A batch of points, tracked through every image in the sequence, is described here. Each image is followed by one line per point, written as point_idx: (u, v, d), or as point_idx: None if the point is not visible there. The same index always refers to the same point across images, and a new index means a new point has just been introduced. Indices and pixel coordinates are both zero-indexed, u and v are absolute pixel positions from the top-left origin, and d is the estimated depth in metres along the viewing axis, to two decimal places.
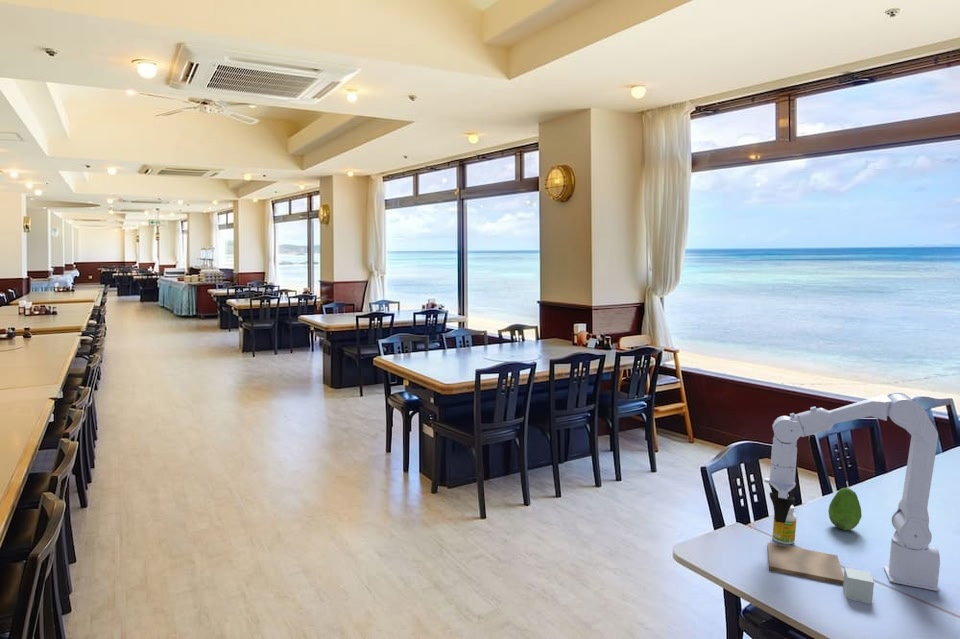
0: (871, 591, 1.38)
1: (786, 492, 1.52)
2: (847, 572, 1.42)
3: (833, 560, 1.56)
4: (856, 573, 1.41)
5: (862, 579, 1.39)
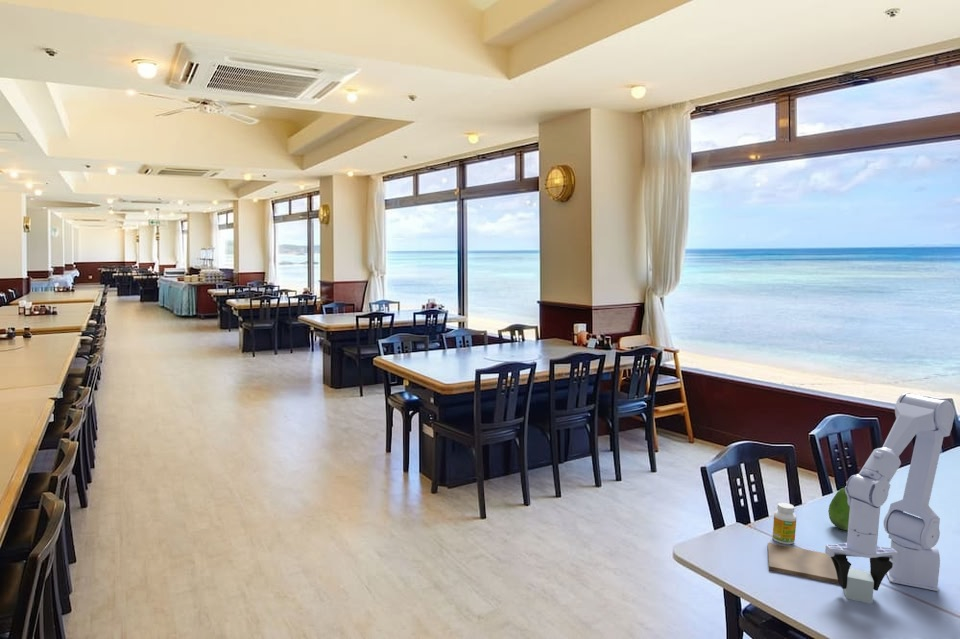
0: (871, 591, 1.38)
1: (829, 549, 1.40)
2: None
3: None
4: (856, 573, 1.41)
5: (862, 578, 1.39)
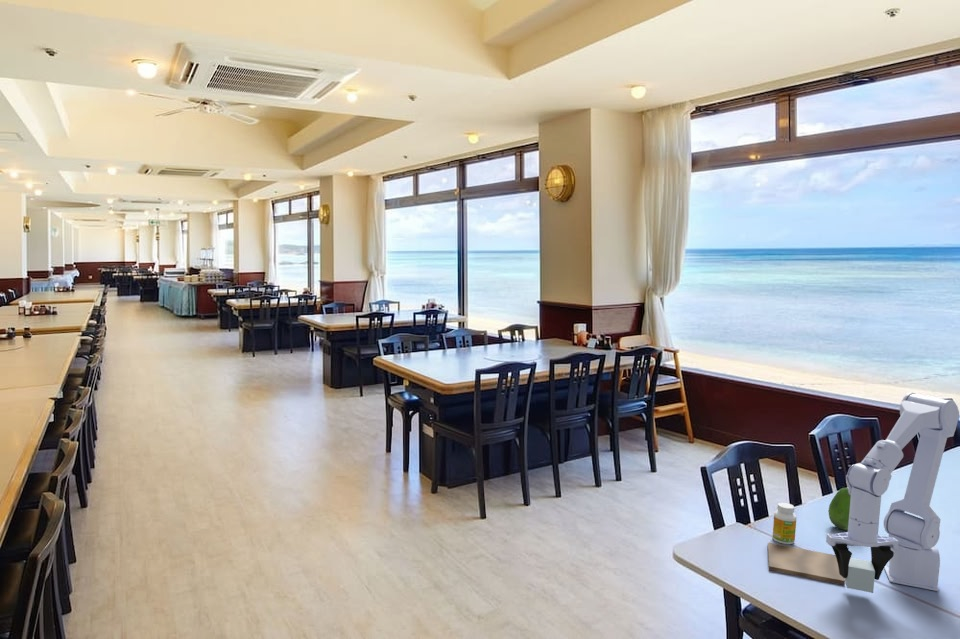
0: (872, 580, 1.38)
1: (830, 538, 1.40)
2: None
3: (833, 560, 1.56)
4: (857, 562, 1.41)
5: (863, 568, 1.39)
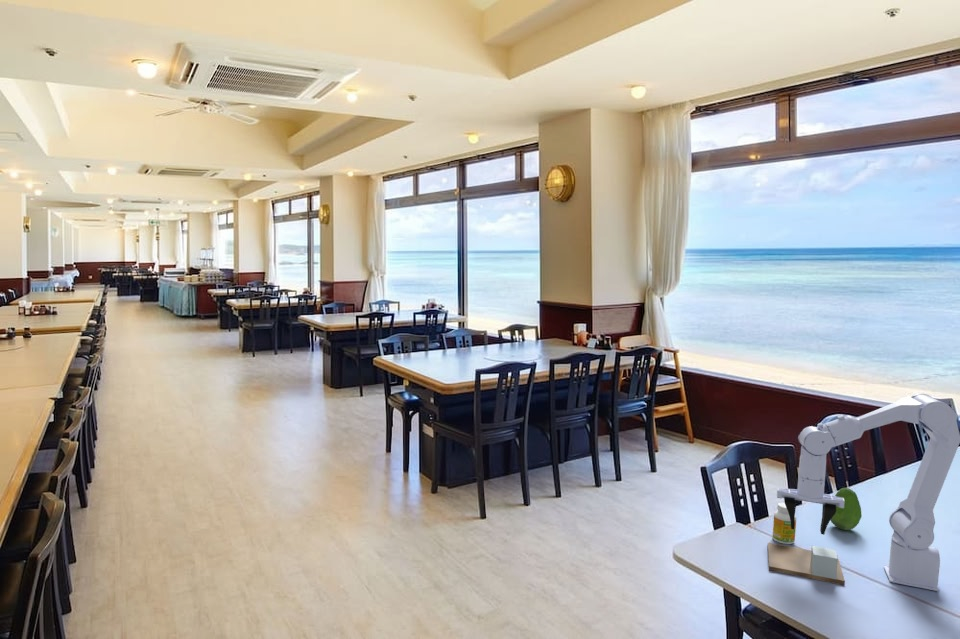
0: (835, 567, 1.46)
1: (777, 491, 1.56)
2: (813, 550, 1.50)
3: None
4: (822, 551, 1.50)
5: (827, 555, 1.47)
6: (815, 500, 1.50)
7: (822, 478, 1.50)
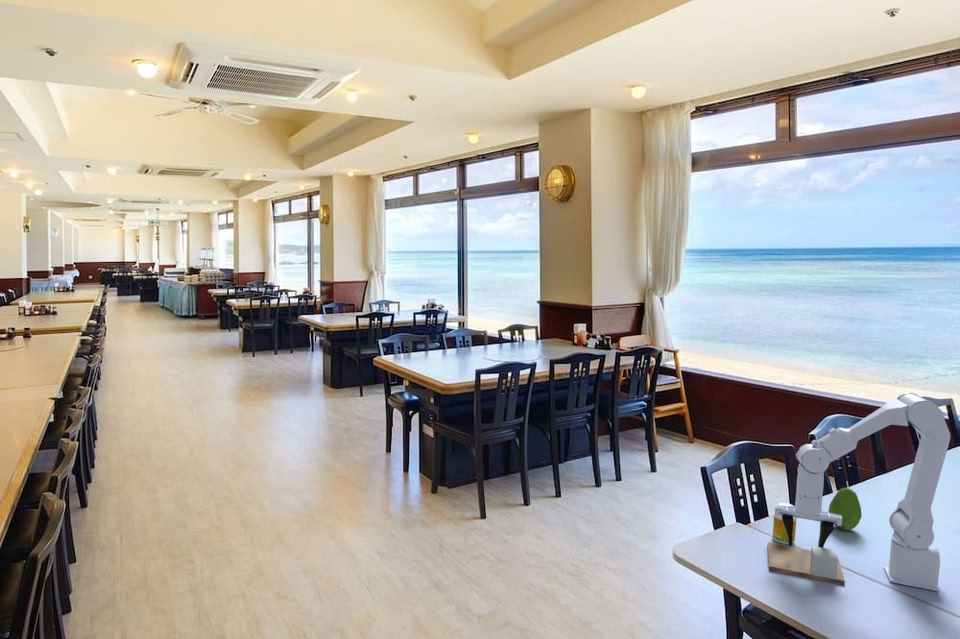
0: (835, 567, 1.46)
1: (775, 508, 1.56)
2: (813, 550, 1.50)
3: None
4: (822, 551, 1.50)
5: (827, 555, 1.47)
6: (813, 518, 1.51)
7: (819, 496, 1.51)
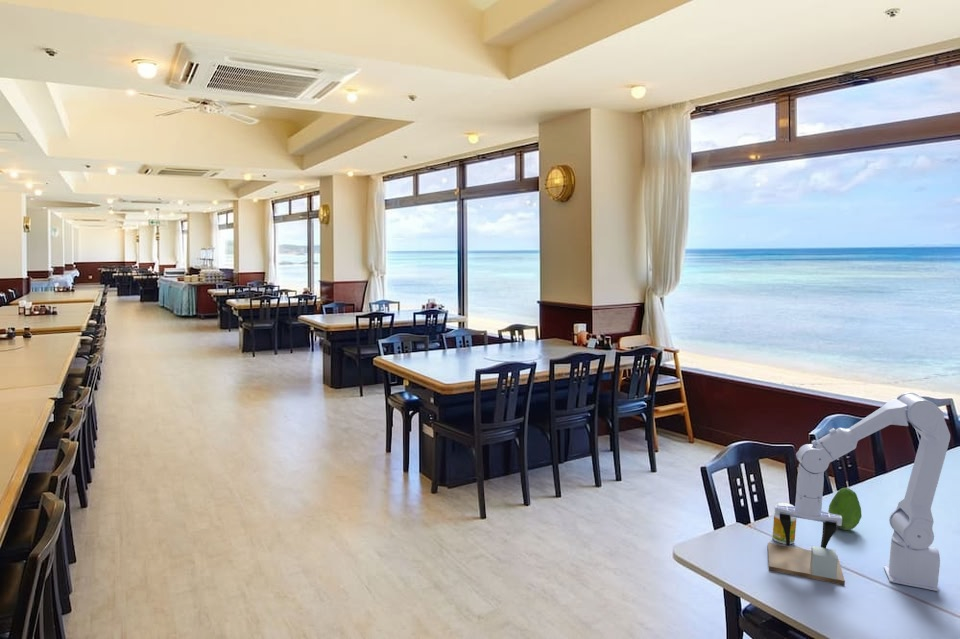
0: (835, 567, 1.46)
1: (775, 508, 1.56)
2: (813, 550, 1.50)
3: None
4: (822, 551, 1.50)
5: (827, 555, 1.47)
6: (813, 518, 1.51)
7: (819, 496, 1.51)
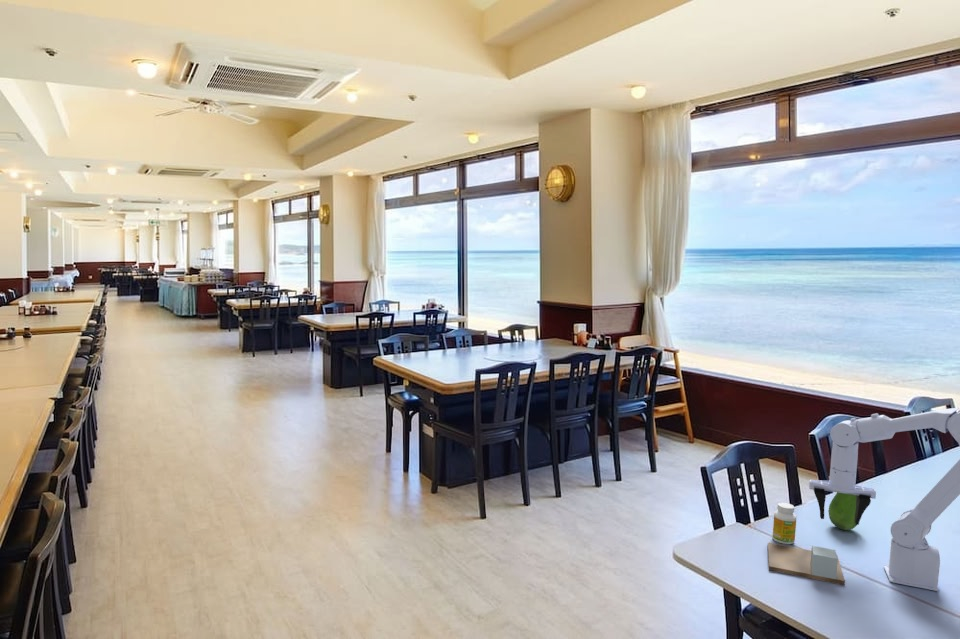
0: (835, 567, 1.46)
1: (809, 482, 1.61)
2: (813, 550, 1.50)
3: None
4: (822, 551, 1.50)
5: (827, 555, 1.47)
6: (847, 491, 1.56)
7: (848, 470, 1.55)
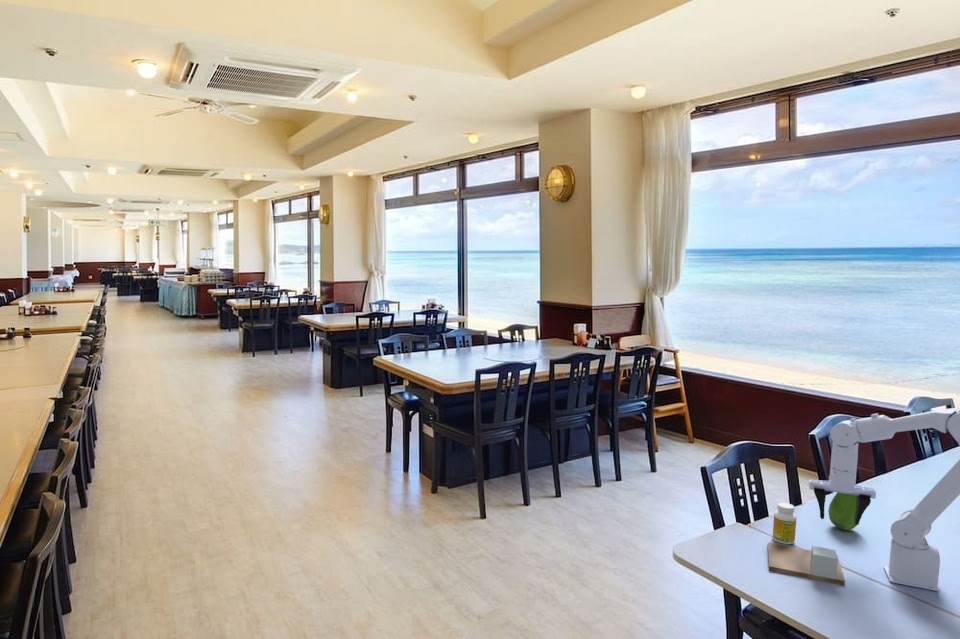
0: (835, 567, 1.46)
1: (809, 482, 1.61)
2: (813, 550, 1.50)
3: None
4: (822, 551, 1.50)
5: (827, 555, 1.47)
6: (847, 491, 1.56)
7: (848, 470, 1.55)
